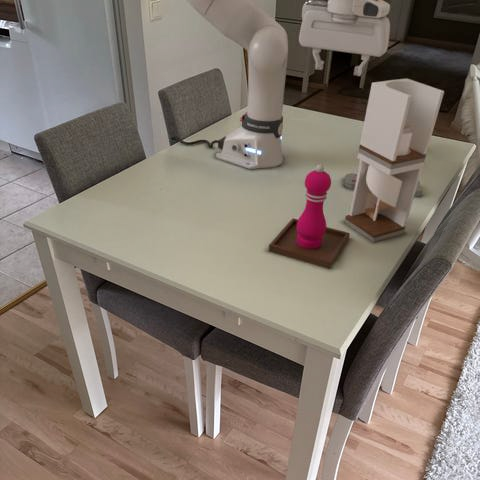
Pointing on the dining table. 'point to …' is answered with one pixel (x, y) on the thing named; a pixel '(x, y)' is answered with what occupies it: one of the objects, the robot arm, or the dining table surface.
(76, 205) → the dining table surface
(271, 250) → the serving tray
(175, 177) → the dining table surface
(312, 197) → the pepper mill
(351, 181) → the remote control
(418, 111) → the two-tier shelf stand
